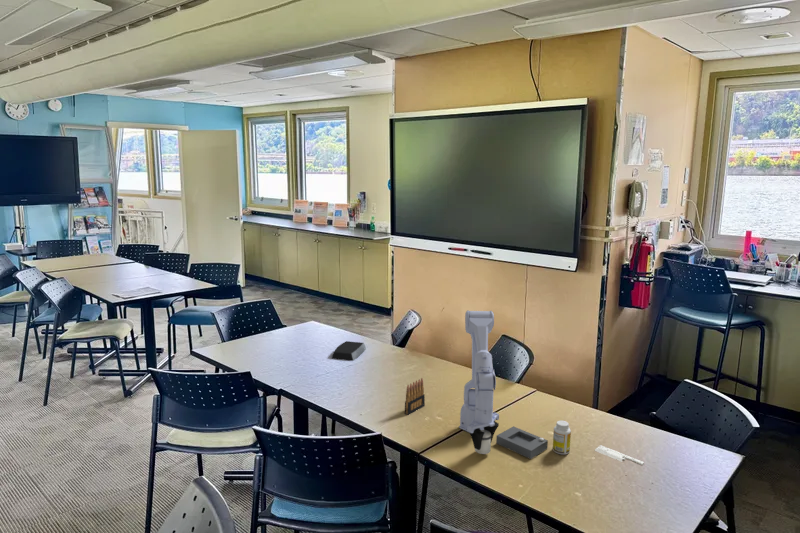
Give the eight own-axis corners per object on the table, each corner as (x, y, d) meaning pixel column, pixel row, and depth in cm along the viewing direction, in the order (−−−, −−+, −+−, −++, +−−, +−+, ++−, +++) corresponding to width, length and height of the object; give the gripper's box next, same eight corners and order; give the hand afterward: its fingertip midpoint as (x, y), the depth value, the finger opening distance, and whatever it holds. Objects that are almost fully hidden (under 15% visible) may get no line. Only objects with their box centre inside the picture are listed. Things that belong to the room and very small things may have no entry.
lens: (471, 449, 183) (471, 433, 182) (481, 444, 187) (481, 427, 185) (483, 456, 179) (484, 439, 178) (493, 450, 183) (494, 433, 182)
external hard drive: (367, 349, 287) (367, 341, 286) (354, 361, 269) (354, 353, 268) (344, 346, 291) (344, 339, 290) (330, 359, 272) (329, 351, 272)
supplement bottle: (565, 446, 188) (567, 418, 186) (572, 455, 183) (574, 426, 181) (549, 447, 188) (551, 419, 186) (556, 455, 182) (557, 427, 180)
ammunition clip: (421, 404, 220) (421, 376, 218) (424, 406, 219) (425, 377, 217) (404, 413, 212) (404, 384, 210) (408, 415, 211) (408, 385, 209)
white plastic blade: (637, 470, 174) (637, 467, 174) (593, 452, 185) (593, 449, 185) (644, 464, 178) (644, 461, 178) (600, 447, 189) (600, 444, 188)
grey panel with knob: (496, 443, 190) (496, 433, 189) (513, 434, 197) (513, 424, 196) (530, 459, 180) (531, 449, 179) (547, 448, 187) (547, 438, 186)
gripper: (479, 418, 172) (478, 458, 175) (507, 404, 182) (505, 442, 185) (462, 411, 177) (461, 449, 180) (490, 398, 187) (488, 434, 190)
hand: (482, 445), depth 182 cm, fingers closed on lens, 5 cm apart
